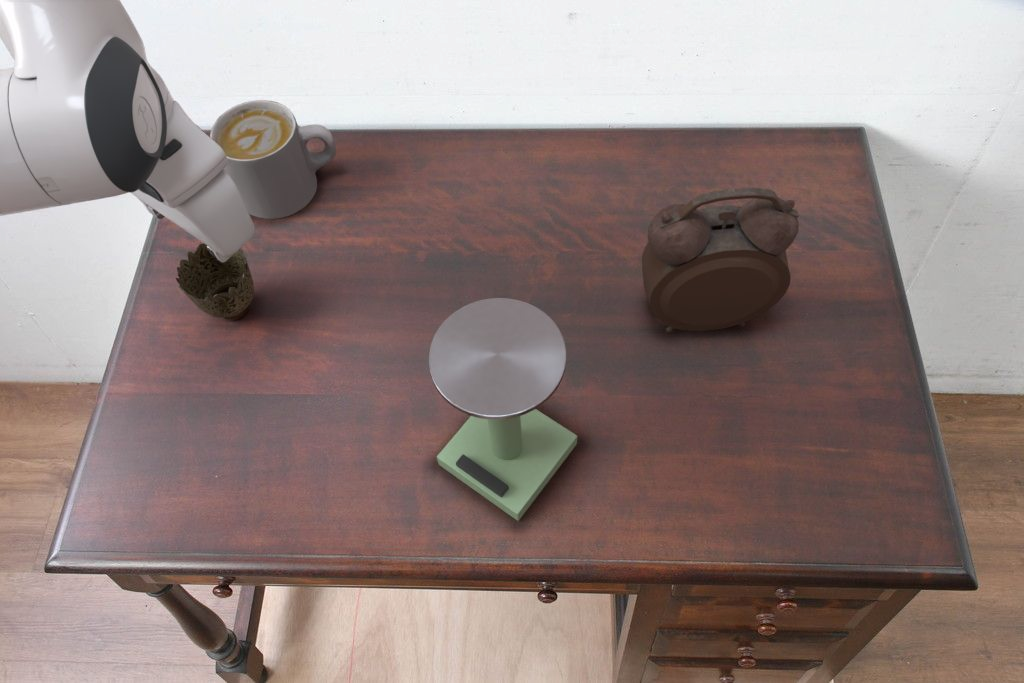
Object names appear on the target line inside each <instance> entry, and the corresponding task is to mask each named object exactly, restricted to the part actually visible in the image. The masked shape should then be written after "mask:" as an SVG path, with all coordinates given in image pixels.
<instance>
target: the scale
mask: <svg viewBox="0 0 1024 683" xmlns="http://www.w3.org/2000/svg"><path fill="white" fill-rule="evenodd" d="M577 445H578V435H576V433H574V432H572V431H571V430H569V429H568V428H566V427H564V426H563V425H561V424H560V423H559V422H557V421H555V420H553V419H552V418H551V417H549V416H547V414H544V413H543V412H542V411H540V410H538V408H536V409H535V410H533V411H531V412H529V413H527V414H524V415H521V416H519V417H515V418H510V419H503V420H487V419H481V418H477V417H473V416H469V417H468V419H467V420H466V421H465V422H464V423H463V425H461V427H460V428H459V430H458V431H457V432H456V433H455V434H454V435H453V436H452V438H450V440H449V441H448V442H447V443H446V445H445V446H444V447H443V448H442V450H441V451H440V452H439V453H438V454H437V455H436V461H437V463H438V465H439V466H440V468H443V469H444V470H445V471H447V472H448V473H449V474H451V475H452V476H454V478H455V477H456V478H457V479H458V480H459V481H460V482H462V483H463V484H465V485H466V486H468V487H469V488H471V489H472V490H474V491H475V492H477V493H478V494H479V495H481V497H484V498H485V499H486V500H488V501H489V502H490V503H492V504H493V505H495V506H496V507H497V508H498V509H500V510H502V511H503V512H504V513H506V514H507V515H508V516H510V517H511V518H513V519H514V520H516V521H517V522H519V521H520V520H521V519H522V517H523V516H524V515H525V513H526V512H527V511H528V509H529V508H530V507H531V505H532V504H533V502H534V501H535V500H536V499H537V498H538V496H539V495H540V494H541V492H542V491H543V490H544V488H545V487H546V486H547V484H548V483H549V482H550V480H551V479H552V477H553V476H554V475H555V474H556V472H557V471H558V470H559V469H560V467H561V466H562V464H563V463H564V462H565V461H566V459H567V458H568V457H569V456H570V454H571V452H572V451H573V450H574V448H575V447H576V446H577Z"/></svg>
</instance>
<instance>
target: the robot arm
mask: <svg viewBox="0 0 1024 683" xmlns="http://www.w3.org/2000/svg"><path fill="white" fill-rule="evenodd" d="M0 39H1V41H2V43H3V44H4V46H5V48H6V49H7V51H8V53H9V54H10V56H11V58H12V59H13V60H14V66H13V67H7V68H2V69H0V217H3V216H9V215H15V214H20V213H26V212H31V211H32V212H33V211H38V210H39V211H40V210H44V209H51V208H56V207H62V206H63V207H64V206H68V205H69V206H70V205H72V204H79V203H84V202H91V201H96V200H97V201H98V200H102V199H107V198H114V197H118V196H123V195H126V194H128V193H130V195H131V194H132V195H133V196H134V197H135V198H136V199H137V200H138V201H140V203H142V204H143V206H144V207H145V209H146V210H147V212H148V213H149V214H150V215H152V216H154V217H155V218H156V219H158V220H162V219H164V218H166V219H168V220H169V221H171V222H172V223H173V224H175V225H176V226H178V227H180V228H181V229H182V230H184V231H185V232H187V233H188V234H190V235H191V236H193V237H194V238H196V240H198V241H200V242H201V243H202V244H203V243H204V244H206V245H207V246H206V247H207V249H208V250H209V252H210V254H211V255H212V256H213V257H215V258H216V259H218V260H219V261H220V262H226V261H227V260H228V259H229V258H230V257H231V256H232V255H233V254H234V253H236V252H237V251H238V250H239V249H241V250H242V248H243V247H244V246H245V245H247V243H249V241H250V240H251V239H252V238H253V237H254V234H255V225H254V222H253V219H252V216H251V214H249V212H248V210H247V207H246V205H245V203H244V201H243V199H242V196H241V194H240V192H239V190H238V188H237V186H236V185H235V183H234V182H233V180H232V179H231V177H230V176H229V175H228V174H227V172H226V171H225V170H224V169H223V168H224V167H225V166H226V165H227V164H228V159H227V157H226V155H225V153H224V151H223V149H222V148H221V147H220V146H219V145H218V144H217V143H216V142H215V141H214V140H213V139H212V138H210V135H208V134H207V133H206V131H204V130H203V129H202V128H201V127H200V126H199V125H197V124H196V123H195V122H194V121H193V120H192V119H191V117H189V115H188V114H187V113H186V112H185V110H184V109H183V107H182V105H180V103H179V102H178V101H177V100H174V98H173V96H172V94H171V92H170V90H169V88H168V86H167V84H166V82H165V81H164V79H163V78H162V76H161V74H159V73H158V71H156V69H154V68H153V67H152V65H151V64H150V63H149V60H148V58H147V53H146V48H145V43H144V41H143V39H142V37H141V35H140V33H139V31H138V30H137V28H136V26H135V24H134V22H133V20H132V18H131V16H130V15H129V13H128V11H127V10H126V8H125V7H124V5H123V3H122V2H121V0H0Z"/></svg>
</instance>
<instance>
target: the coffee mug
mask: <svg viewBox="0 0 1024 683" xmlns="http://www.w3.org/2000/svg"><path fill="white" fill-rule="evenodd" d="M209 137H210V138H212V139H213V140H214V141H215V142H216V143H217V144H218V145H219V146H220V147H221V148H222V149H223V151H224V153H225V155H226V157H227V159H228V164H227V165H226V166H225V167H224V168H223V169H224V170H225V171H226V172H227V174H228V175H229V176H230V177H231V179H232V180H233V182H234V183H235V185H236V186H237V188H238V190H239V192H240V194H241V196H242V199H243V201H244V203H245V205H246V207H247V210H248V212H249V214H250V216H253V217H256V218H260V219H263V220H275V219H276V220H277V219H282V218H286V217H287V218H288V217H289V216H292V215H295V214H296V213H298V212H299V211H302V210H303V209H304V208H305V207H307V205H309V204H310V203H311V201H312V200H313V198H314V197H315V195H316V192H317V189H318V179H317V176H316V172H317V171H318V170H319V169H321V168H323V167H325V166H327V165H328V164H330V163H331V162H332V161H333V160H334V159H335V157H336V155H337V148H336V147H337V146H336V141H335V138H334V136H333V134H332V132H331V131H330V129H329V128H327V127H326V126H324V125H321V124H308V125H303V126H301V125H298V122H297V118H296V117H295V115H294V113H293V112H292V111H291V109H289V107H287V106H286V105H284V104H282V103H280V102H278V101H274V100H268V99H254V100H248V101H244V102H241V103H238V104H236V105H234V106H232V107H230V108H229V109H227V110H226V111H224V112H222V114H220V115H219V116H218V117H217V119H216V120H215V121H214V123H213V125H212V127H211V129H210V134H209ZM312 139H319V140H321V141H322V142H323V143H324V149H323V150H321V151H314V150H311V149H310V148H309V146H308V145H307V144H308V142H309V141H310V140H312Z"/></svg>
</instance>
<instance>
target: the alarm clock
mask: <svg viewBox="0 0 1024 683" xmlns="http://www.w3.org/2000/svg"><path fill="white" fill-rule="evenodd" d="M745 199H750V200H748V201H747V202H746V203H744V204H743V205H742V206H739V205H738V206H737V205H720V206H711V207H706V208H701V207H702V206H705V205H709V204H714V203H717V202H722V201H723V202H724V201H731V200H745ZM795 205H796V202H795V201H794V200H793V199H787V200H786V201H785V199H783V198H781V197H779V196H778V195H777V193H776V192H775V191H774V190H772V189H768V188H761V187H740V188H738V187H737V188H728V189H720V190H714V191H709V192H706V193H702V194H699V195H697V196H695V197H693V198H691V200H690V201H689V202H688V203H686V204H685V203H674V204H670V205H667V206H665V207H663V208H662V209H660V210H659V211H658V212H657V213H655V215H654V217H652V219H651V221H650V222H649V225H648V228H647V243H646V245H645V246H644V249H643V251H642V255H641V270H642V271H641V272H642V284H643V289H644V293H645V297H646V298H647V301H648V305H649V309H650V312H651V313H652V316H654V317H655V319H657V321H659V322H660V323H662V324H664V325H666V326H667V327H666V328H665V331H666V332H667V333H672V332H673V329H676V330H682V331H690V332H691V331H692V332H702V331H703V332H705V331H706V332H708V331H715V330H721V329H726V328H730V327H735V326H737V325H739V326H740V327H742V328H743V327H744V326H746V322H748V321H750V320H753V319H755V318H757V317H759V316H761V315H762V314H764V313H766V312H767V311H769V310H770V309H772V308H773V307H774V306H775V305H777V304H778V303H779V301H781V300H782V298H783V297H784V296H785V294H787V291H788V289H789V287H790V284H791V278H792V277H791V272H790V268H789V261H788V256H787V252H786V251H787V250H788V249H789V248H790V247H791V245H792V244H793V243H794V241H795V239H796V238H797V236H798V233H799V230H800V228H799V226H800V225H799V224H800V223H799V219H798V218H800V215H799V213H798V210H797V209H794V208H795ZM698 208H701V209H698Z"/></svg>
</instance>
